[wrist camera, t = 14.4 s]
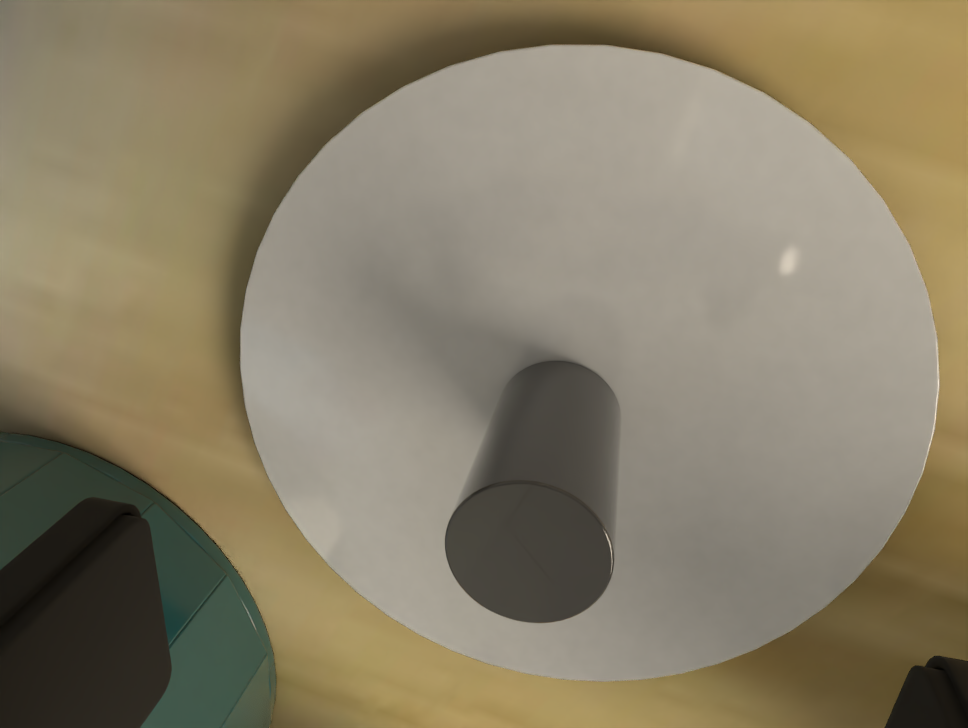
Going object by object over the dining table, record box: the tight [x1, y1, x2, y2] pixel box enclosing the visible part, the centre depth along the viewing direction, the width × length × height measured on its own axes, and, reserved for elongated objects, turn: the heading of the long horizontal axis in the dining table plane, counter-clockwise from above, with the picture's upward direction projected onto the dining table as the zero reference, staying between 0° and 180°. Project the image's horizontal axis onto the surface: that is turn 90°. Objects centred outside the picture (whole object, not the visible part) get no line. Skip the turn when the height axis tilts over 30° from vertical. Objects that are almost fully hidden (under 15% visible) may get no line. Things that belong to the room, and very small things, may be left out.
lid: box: [240, 44, 940, 682], centre depth 16 cm, size 17×17×7 cm
